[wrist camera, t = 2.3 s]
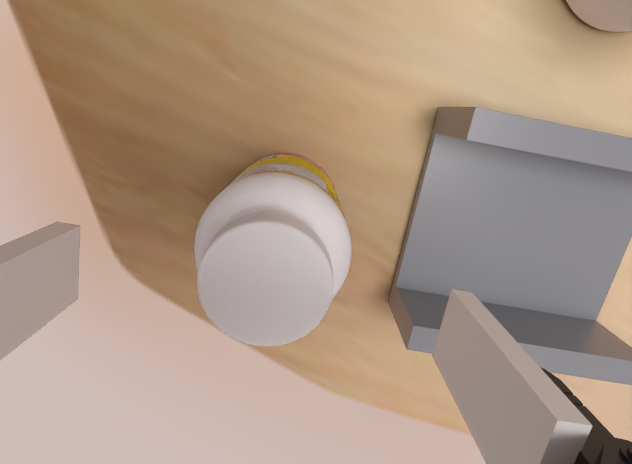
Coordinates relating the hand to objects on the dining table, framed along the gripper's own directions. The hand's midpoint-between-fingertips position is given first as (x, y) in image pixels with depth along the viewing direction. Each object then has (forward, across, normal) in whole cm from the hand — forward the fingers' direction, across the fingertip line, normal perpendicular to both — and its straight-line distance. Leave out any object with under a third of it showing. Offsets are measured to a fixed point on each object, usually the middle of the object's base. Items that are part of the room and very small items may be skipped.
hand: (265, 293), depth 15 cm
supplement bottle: (+13, 0, 0) cm, 13 cm away
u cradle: (+12, +15, +2) cm, 19 cm away
